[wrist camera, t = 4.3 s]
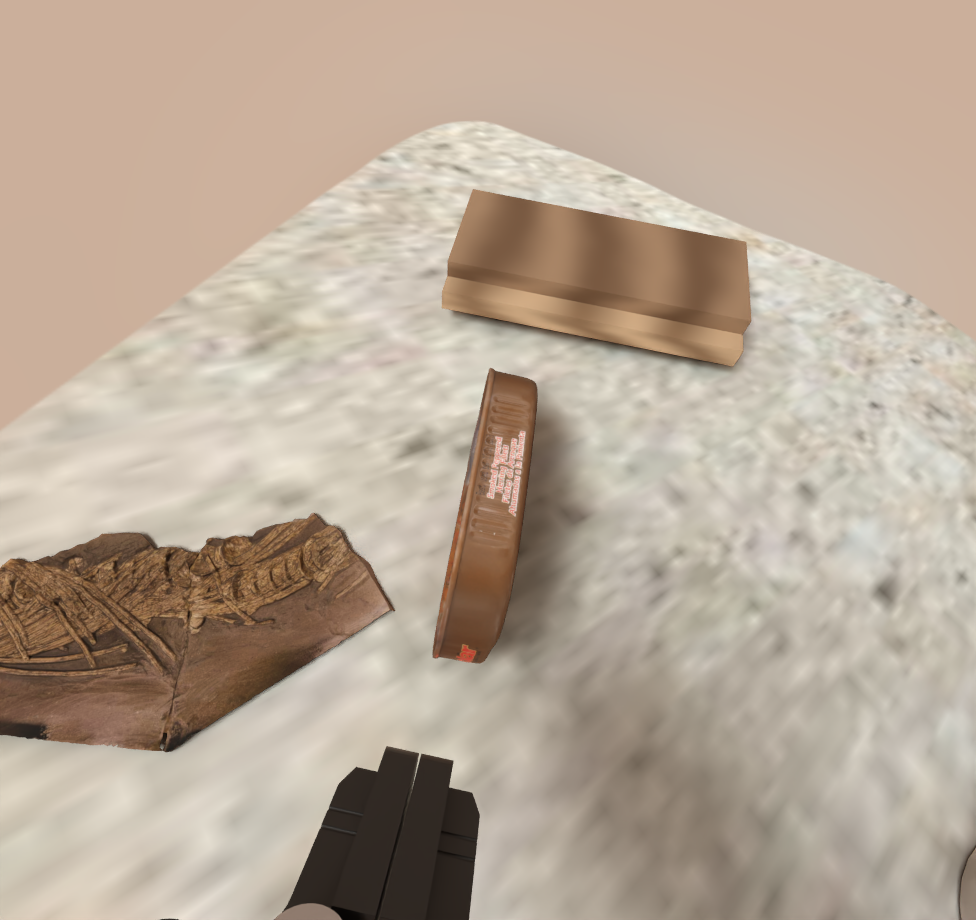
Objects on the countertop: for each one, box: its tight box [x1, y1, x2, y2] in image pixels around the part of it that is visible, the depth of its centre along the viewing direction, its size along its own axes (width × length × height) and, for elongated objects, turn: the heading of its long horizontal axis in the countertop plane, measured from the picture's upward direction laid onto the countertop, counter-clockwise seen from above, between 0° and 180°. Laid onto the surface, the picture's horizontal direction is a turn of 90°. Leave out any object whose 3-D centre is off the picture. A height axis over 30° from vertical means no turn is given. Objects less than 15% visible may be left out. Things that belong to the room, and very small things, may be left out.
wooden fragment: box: [0, 513, 394, 752], centre depth 28 cm, size 26×11×1 cm, turn 99°
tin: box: [433, 368, 537, 663], centre depth 29 cm, size 15×3×8 cm, turn 171°
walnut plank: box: [442, 189, 751, 366], centre depth 41 cm, size 20×10×4 cm, turn 79°
